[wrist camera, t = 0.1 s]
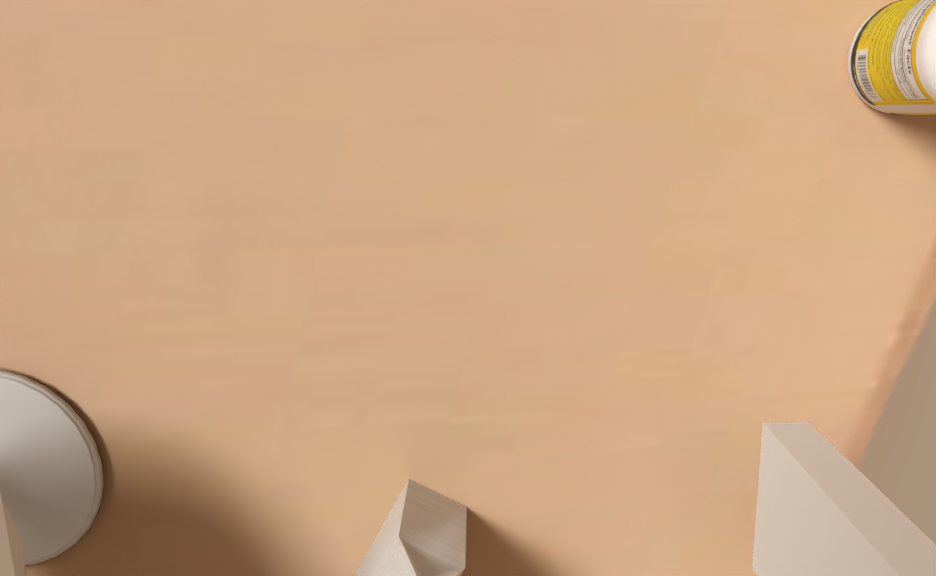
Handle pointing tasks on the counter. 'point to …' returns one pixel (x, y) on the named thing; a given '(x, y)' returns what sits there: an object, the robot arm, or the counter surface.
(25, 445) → the chalice
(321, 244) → the counter surface
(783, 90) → the counter surface
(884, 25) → the supplement bottle
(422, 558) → the white carton
